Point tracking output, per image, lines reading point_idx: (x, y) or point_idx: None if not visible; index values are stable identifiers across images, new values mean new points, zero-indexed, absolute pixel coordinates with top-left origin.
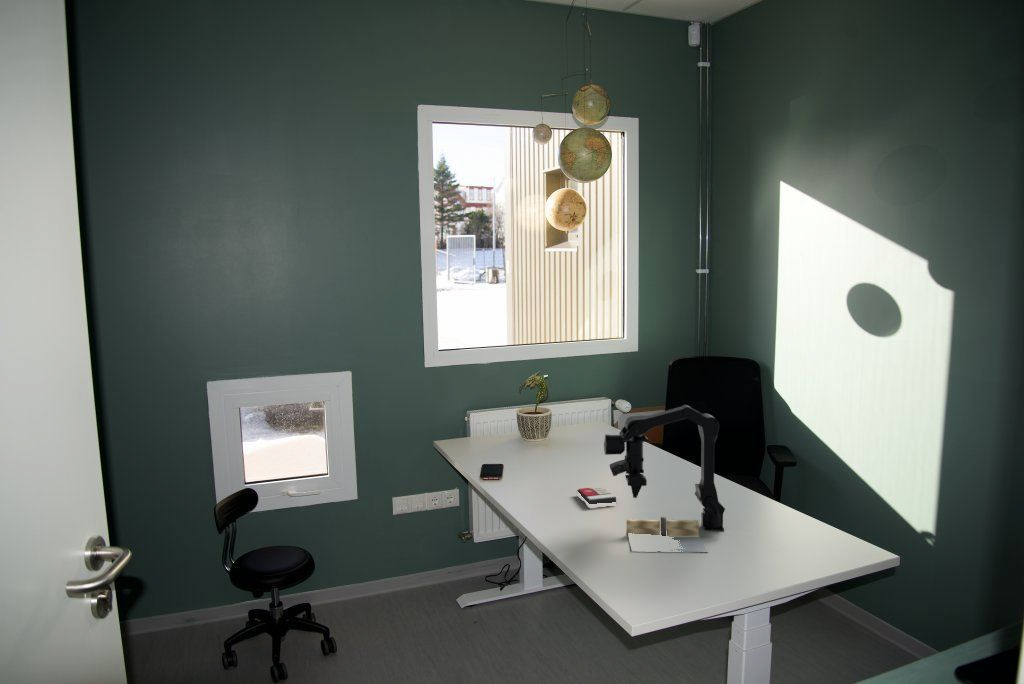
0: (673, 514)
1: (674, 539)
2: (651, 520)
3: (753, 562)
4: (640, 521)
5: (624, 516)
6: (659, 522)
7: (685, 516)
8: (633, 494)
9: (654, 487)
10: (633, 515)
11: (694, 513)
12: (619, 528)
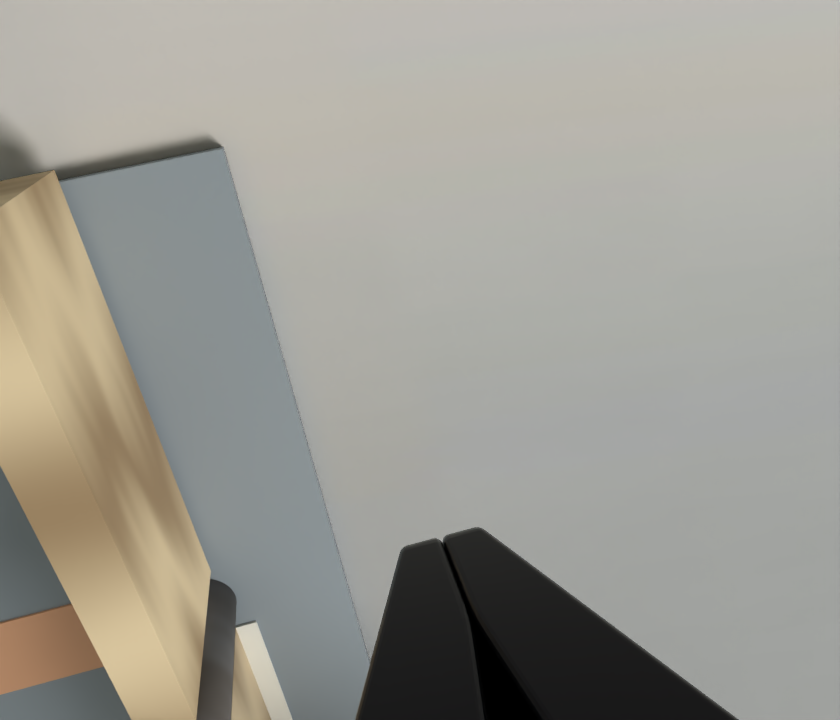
0: (818, 578)
1: (119, 711)
2: (130, 637)
3: None
4: (14, 492)
5: (787, 45)
6: (140, 717)
7: (764, 671)
8: (377, 656)
9: None
10: (816, 174)
11: (829, 716)
12: (303, 13)
